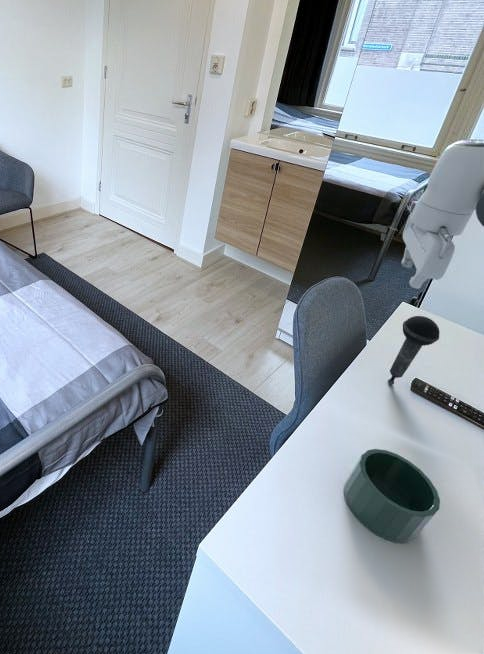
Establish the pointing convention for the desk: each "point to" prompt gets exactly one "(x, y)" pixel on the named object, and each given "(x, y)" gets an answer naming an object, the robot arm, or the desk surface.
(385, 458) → the tin
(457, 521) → the desk surface
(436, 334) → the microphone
